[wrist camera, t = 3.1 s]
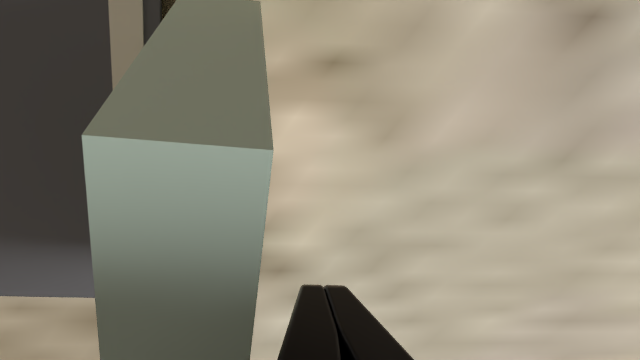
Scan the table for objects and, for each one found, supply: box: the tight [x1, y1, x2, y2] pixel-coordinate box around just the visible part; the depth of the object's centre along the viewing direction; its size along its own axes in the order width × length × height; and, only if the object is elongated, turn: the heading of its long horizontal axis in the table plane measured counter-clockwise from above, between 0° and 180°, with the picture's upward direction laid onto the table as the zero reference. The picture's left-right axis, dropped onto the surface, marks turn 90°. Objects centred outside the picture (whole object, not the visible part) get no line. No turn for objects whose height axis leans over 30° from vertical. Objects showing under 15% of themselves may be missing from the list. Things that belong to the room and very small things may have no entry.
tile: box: [82, 0, 273, 360], centre depth 11 cm, size 8×2×9 cm, turn 172°
